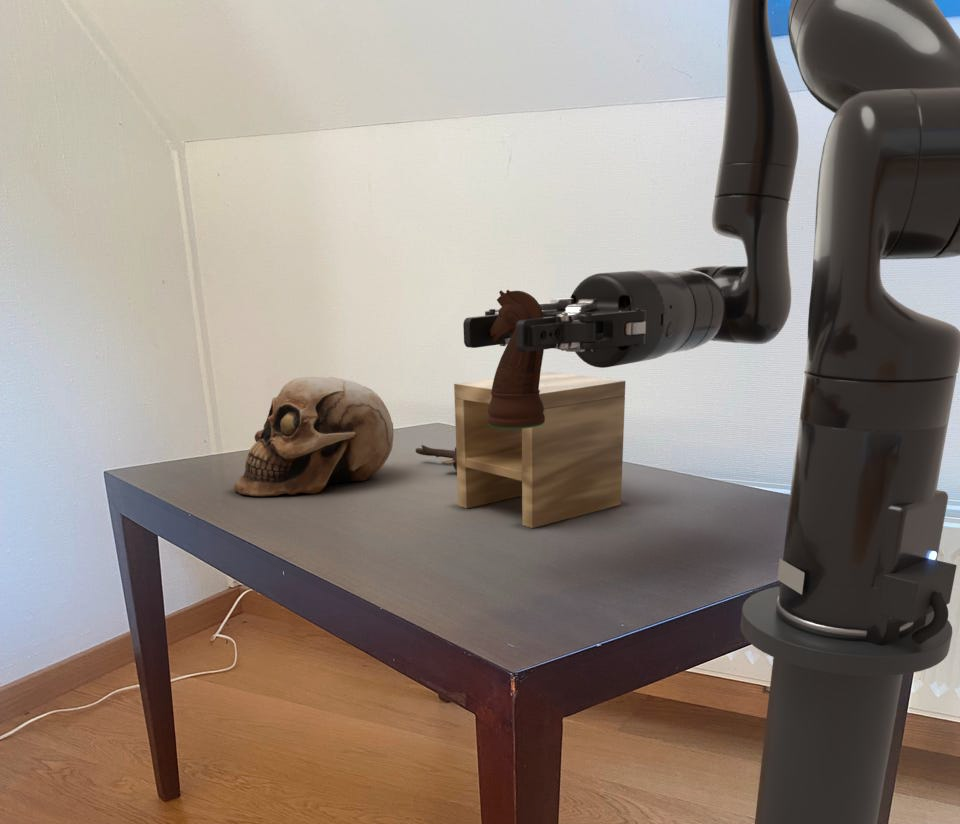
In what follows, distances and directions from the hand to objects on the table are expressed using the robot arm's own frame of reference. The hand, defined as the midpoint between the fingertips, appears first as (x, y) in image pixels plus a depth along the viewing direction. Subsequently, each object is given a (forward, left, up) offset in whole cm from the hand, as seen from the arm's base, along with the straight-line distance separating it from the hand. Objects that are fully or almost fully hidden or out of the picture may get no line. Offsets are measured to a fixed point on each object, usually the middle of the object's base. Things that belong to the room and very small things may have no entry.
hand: (493, 334), depth 68 cm
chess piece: (0, -3, -7) cm, 8 cm away
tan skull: (+43, -8, -20) cm, 48 cm away
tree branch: (+36, -29, -20) cm, 50 cm away
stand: (+16, -20, -20) cm, 32 cm away
